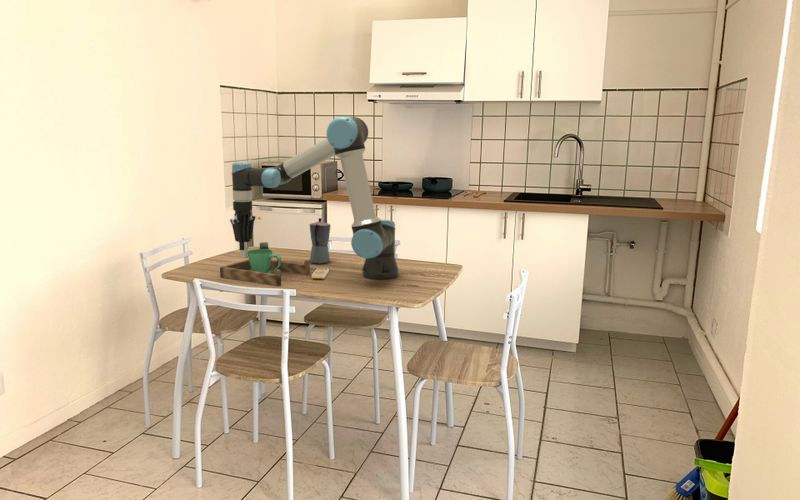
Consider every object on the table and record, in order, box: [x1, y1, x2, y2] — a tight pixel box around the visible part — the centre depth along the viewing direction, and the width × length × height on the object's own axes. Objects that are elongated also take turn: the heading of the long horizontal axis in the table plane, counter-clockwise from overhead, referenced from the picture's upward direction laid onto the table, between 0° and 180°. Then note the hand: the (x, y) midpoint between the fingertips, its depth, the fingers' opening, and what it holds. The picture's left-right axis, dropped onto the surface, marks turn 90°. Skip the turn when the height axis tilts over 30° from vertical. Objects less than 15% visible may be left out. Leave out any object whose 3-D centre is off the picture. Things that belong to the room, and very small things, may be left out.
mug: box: [247, 248, 282, 274], centre depth 241 cm, size 15×10×10 cm
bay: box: [219, 241, 311, 287], centre depth 243 cm, size 29×25×10 cm
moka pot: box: [309, 217, 331, 264], centre depth 265 cm, size 10×15×20 cm, turn 179°
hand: (244, 257), depth 245 cm, fingers closed
